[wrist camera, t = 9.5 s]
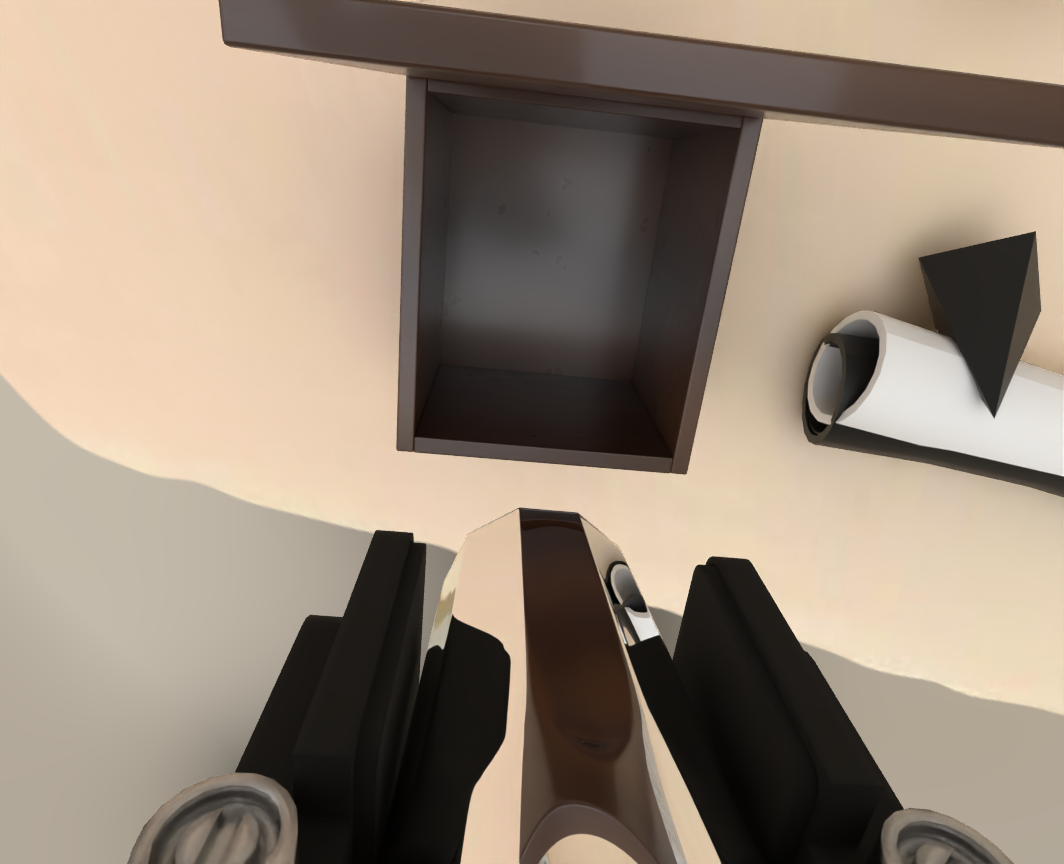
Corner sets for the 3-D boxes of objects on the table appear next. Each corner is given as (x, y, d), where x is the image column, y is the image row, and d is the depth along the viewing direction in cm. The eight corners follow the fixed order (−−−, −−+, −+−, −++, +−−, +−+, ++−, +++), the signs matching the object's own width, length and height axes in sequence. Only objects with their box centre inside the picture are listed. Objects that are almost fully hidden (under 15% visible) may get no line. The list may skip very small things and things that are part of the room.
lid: (1133, 155, 10) (1161, 97, 10) (221, 46, 9) (213, -24, 9) (767, 119, 24) (773, 95, 24) (404, 75, 24) (404, 50, 23)
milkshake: (732, 489, 11) (1851, 2045, 2) (590, 707, 13) (828, 2060, 4) (491, 386, 10) (467, 2505, 1) (372, 637, 12) (-30, 2229, 3)
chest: (639, 390, 42) (686, 475, 31) (428, 371, 41) (396, 451, 30) (686, 125, 36) (766, 108, 25) (440, 96, 35) (406, 64, 24)
